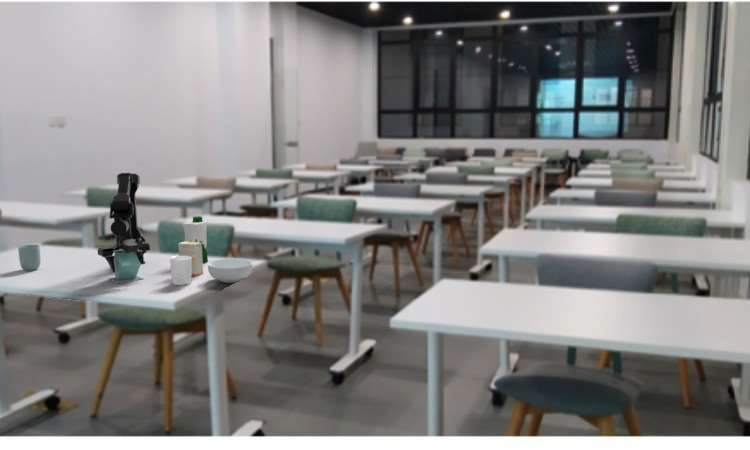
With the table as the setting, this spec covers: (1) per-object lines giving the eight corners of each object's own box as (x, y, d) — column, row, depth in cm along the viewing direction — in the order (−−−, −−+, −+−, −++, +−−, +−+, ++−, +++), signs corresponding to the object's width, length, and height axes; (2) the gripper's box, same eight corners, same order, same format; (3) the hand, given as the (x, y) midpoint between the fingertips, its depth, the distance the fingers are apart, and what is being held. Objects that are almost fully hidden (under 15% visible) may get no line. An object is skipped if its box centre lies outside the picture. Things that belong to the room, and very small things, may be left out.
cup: (45, 267, 277) (43, 244, 276) (34, 272, 270) (32, 248, 268) (27, 267, 278) (25, 244, 276) (16, 271, 270) (14, 247, 269)
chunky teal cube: (129, 264, 265) (134, 250, 260) (135, 277, 261) (140, 263, 257) (110, 265, 259) (115, 251, 255) (116, 279, 255) (121, 265, 251)
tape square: (132, 274, 265) (132, 274, 265) (143, 279, 258) (143, 278, 258) (108, 278, 258) (108, 278, 258) (118, 283, 251) (118, 283, 251)
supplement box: (203, 273, 268) (202, 242, 266) (196, 276, 263) (195, 244, 261) (186, 271, 271) (185, 240, 268) (179, 274, 266) (178, 242, 264)
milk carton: (210, 261, 290) (209, 216, 287) (198, 265, 282) (196, 219, 279) (194, 259, 294) (192, 215, 290) (181, 263, 285) (179, 218, 282)
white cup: (173, 280, 256) (172, 255, 254) (194, 280, 256) (193, 255, 255) (169, 285, 248) (168, 260, 246) (190, 285, 249) (189, 259, 247)
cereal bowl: (209, 287, 247) (208, 268, 246) (207, 276, 262) (207, 259, 261) (254, 284, 251) (254, 266, 250) (250, 274, 267) (250, 257, 266)
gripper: (107, 236, 243) (110, 277, 246) (155, 231, 256) (157, 270, 258) (95, 233, 251) (98, 273, 254) (142, 227, 264) (144, 265, 266)
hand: (125, 270), depth 258 cm, fingers open, 9 cm apart
